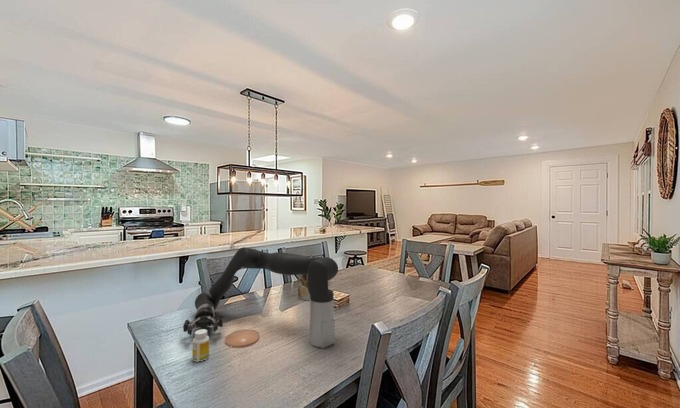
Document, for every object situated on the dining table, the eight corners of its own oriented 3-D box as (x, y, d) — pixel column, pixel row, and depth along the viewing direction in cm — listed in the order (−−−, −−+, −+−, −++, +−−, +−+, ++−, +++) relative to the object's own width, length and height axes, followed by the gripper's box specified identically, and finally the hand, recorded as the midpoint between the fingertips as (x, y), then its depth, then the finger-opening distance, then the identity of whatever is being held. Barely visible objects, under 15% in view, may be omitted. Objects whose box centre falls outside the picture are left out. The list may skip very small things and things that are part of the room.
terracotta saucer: (265, 340, 120) (265, 337, 120) (232, 351, 111) (232, 348, 111) (250, 329, 130) (250, 326, 130) (220, 338, 121) (220, 335, 121)
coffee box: (317, 298, 170) (317, 270, 170) (311, 301, 164) (311, 272, 164) (303, 295, 174) (304, 268, 174) (297, 298, 169) (297, 270, 168)
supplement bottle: (189, 362, 103) (189, 335, 103) (195, 354, 109) (195, 328, 108) (206, 362, 104) (206, 334, 104) (211, 354, 109) (211, 328, 109)
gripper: (186, 308, 127) (181, 323, 112) (222, 304, 132) (222, 318, 117) (186, 326, 127) (181, 343, 112) (222, 321, 132) (222, 337, 117)
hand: (202, 330), depth 115 cm, fingers open, 8 cm apart
